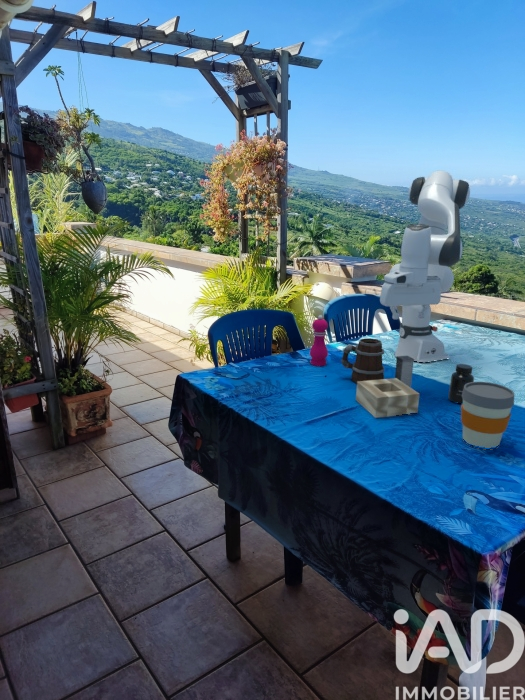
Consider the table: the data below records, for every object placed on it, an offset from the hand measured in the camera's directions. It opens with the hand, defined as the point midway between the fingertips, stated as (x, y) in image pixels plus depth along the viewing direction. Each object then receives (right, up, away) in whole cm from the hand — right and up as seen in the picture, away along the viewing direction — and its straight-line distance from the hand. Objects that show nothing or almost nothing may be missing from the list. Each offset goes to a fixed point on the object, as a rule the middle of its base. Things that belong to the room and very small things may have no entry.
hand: (408, 318), depth 155 cm
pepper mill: (-26, -16, +35) cm, 46 cm away
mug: (-12, -22, +17) cm, 30 cm away
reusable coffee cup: (+11, -35, -27) cm, 46 cm away
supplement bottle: (+16, -27, -1) cm, 32 cm away
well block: (-9, -28, -6) cm, 30 cm away
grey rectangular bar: (0, -24, +7) cm, 26 cm away
